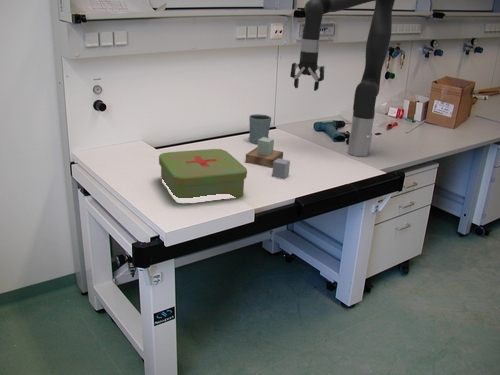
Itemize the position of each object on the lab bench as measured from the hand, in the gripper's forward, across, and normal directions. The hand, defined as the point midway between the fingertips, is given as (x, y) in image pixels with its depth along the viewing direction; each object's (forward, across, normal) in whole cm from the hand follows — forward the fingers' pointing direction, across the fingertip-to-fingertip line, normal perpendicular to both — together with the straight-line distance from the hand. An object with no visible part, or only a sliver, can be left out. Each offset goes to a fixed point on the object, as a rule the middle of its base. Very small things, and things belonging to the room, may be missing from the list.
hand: (305, 89), depth 211 cm
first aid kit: (+28, +16, +61) cm, 69 cm away
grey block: (+28, -4, +34) cm, 44 cm away
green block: (+24, +8, +22) cm, 34 cm away
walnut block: (+28, +8, +22) cm, 37 cm away
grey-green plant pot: (+28, +21, -2) cm, 35 cm away
